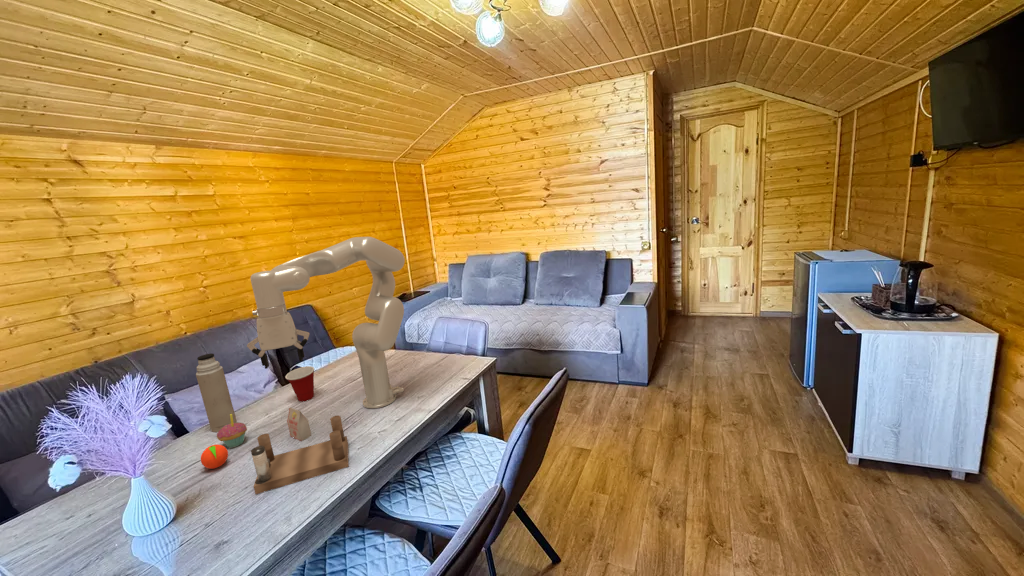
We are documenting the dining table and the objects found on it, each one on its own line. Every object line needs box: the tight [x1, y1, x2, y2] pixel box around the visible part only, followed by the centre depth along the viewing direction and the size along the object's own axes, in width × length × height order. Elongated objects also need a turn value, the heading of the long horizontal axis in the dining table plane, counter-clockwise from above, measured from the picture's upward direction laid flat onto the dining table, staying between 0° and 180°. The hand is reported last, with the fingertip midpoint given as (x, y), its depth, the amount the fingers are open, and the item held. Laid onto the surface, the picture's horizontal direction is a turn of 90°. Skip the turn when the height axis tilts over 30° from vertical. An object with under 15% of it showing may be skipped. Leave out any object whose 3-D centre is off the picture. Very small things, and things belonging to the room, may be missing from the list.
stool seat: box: [253, 415, 349, 495], centre depth 123 cm, size 24×14×10 cm, turn 112°
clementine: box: [200, 444, 229, 470], centre depth 128 cm, size 8×7×7 cm
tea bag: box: [286, 407, 312, 442], centre depth 141 cm, size 4×7×10 cm, turn 56°
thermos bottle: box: [195, 353, 238, 433], centre depth 151 cm, size 8×8×28 cm
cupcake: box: [216, 414, 248, 449], centre depth 140 cm, size 9×8×12 cm
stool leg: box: [250, 445, 271, 482], centre depth 117 cm, size 9×3×9 cm, turn 26°
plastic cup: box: [284, 366, 315, 403], centre depth 170 cm, size 11×11×12 cm
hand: (284, 363), depth 131 cm, fingers open, 9 cm apart
